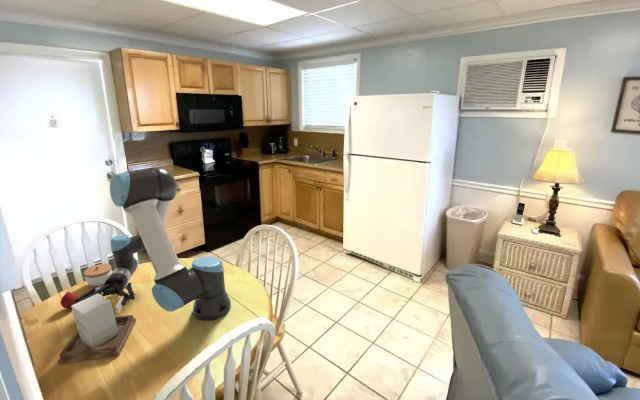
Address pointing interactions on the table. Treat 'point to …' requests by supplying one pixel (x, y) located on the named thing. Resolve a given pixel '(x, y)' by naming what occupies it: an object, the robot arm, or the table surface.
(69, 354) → the walnut stand
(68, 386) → the table surface
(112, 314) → the supplement box
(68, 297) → the onion
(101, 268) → the lidded jar
